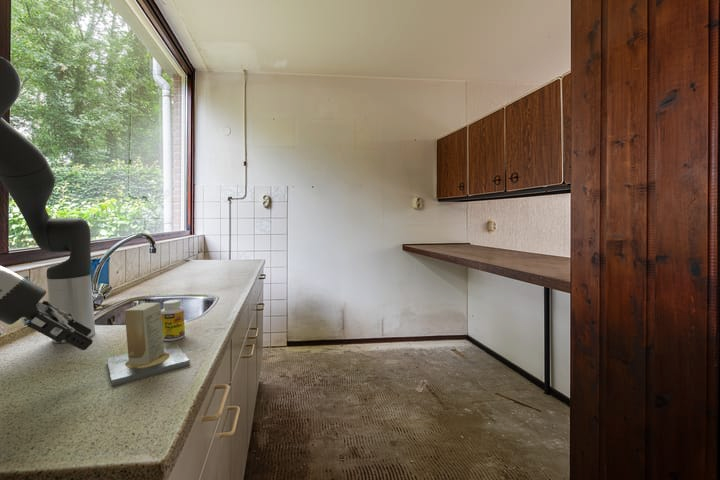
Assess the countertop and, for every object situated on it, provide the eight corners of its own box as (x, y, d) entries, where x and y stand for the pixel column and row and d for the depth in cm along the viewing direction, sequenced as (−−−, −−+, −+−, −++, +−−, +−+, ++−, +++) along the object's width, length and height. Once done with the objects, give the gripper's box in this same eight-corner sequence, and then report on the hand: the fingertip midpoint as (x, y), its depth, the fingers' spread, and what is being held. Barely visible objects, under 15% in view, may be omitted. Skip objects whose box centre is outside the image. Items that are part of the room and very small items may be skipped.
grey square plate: (107, 363, 77) (107, 357, 77) (176, 347, 86) (175, 342, 86) (111, 386, 66) (111, 380, 66) (189, 365, 75) (189, 359, 75)
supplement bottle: (162, 343, 89) (160, 305, 88) (161, 337, 94) (159, 300, 93) (186, 338, 92) (184, 301, 91) (183, 333, 97) (181, 297, 96)
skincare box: (147, 353, 79) (143, 301, 78) (165, 353, 79) (162, 301, 78) (127, 365, 73) (123, 309, 72) (146, 365, 73) (143, 309, 72)
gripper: (17, 282, 57) (106, 332, 65) (26, 272, 68) (101, 317, 76) (-28, 319, 54) (72, 367, 62) (-10, 303, 65) (72, 346, 73)
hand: (88, 339), depth 69 cm, fingers open, 8 cm apart
